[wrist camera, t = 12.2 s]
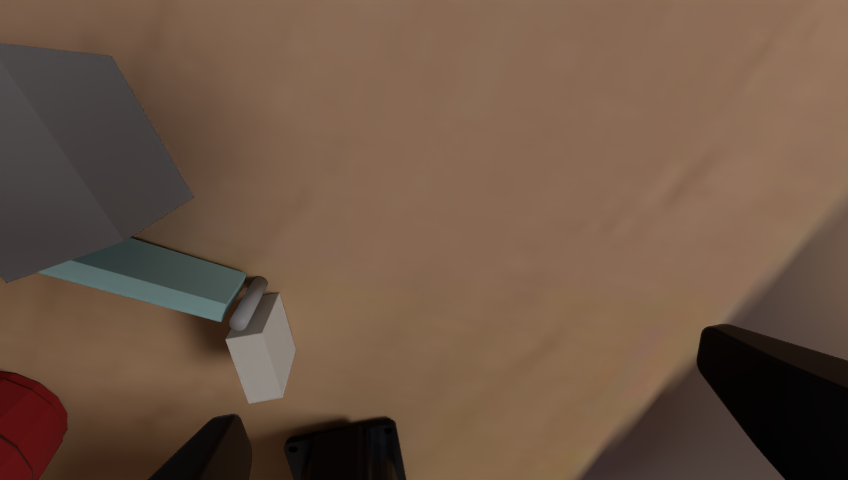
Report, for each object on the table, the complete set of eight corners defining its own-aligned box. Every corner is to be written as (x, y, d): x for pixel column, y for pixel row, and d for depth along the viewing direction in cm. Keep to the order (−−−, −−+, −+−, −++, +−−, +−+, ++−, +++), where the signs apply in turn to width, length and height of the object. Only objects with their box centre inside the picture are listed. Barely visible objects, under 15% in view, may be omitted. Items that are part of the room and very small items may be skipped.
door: (246, 273, 19) (226, 304, 16) (235, 306, 19) (214, 341, 17) (-150, 152, 15) (-261, 166, 12) (-149, 197, 16) (-256, 220, 13)
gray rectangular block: (194, 196, 18) (124, 240, 13) (110, 226, 18) (6, 282, 13) (112, 56, 15) (-13, 41, 10) (15, 90, 15) (-157, 93, 10)
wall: (295, 349, 21) (282, 399, 18) (267, 354, 21) (248, 405, 18) (105, -311, 12) (3, -464, 9) (52, -309, 12) (-71, -463, 9)
